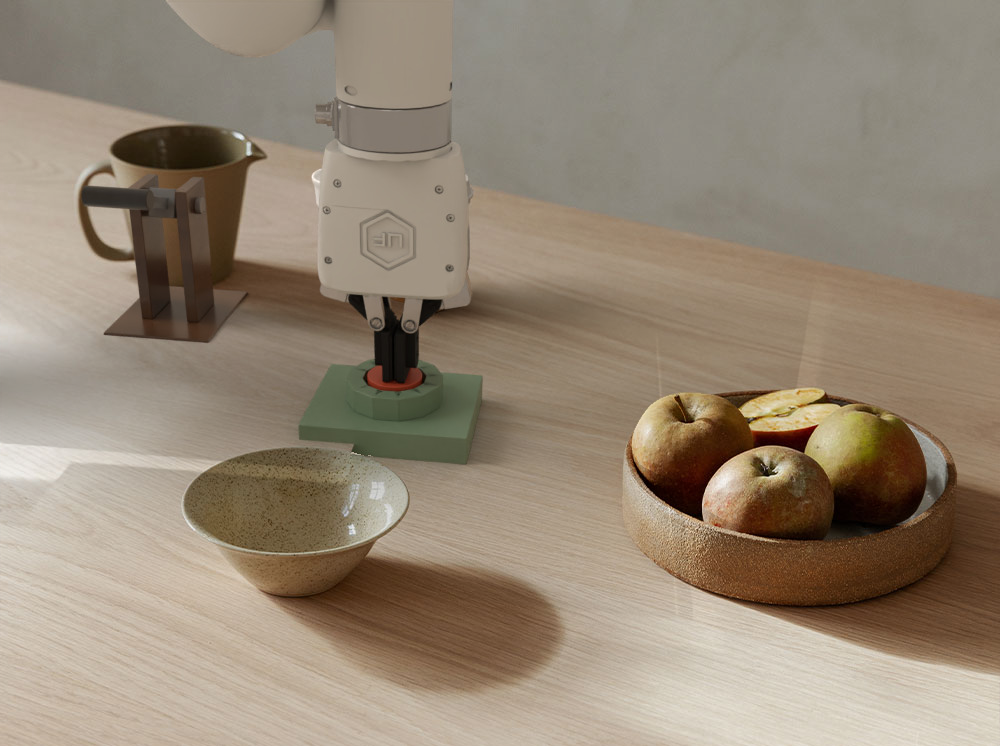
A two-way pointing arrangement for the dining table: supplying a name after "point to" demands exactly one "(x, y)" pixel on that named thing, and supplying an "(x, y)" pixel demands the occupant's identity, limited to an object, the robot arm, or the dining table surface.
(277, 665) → the dining table surface
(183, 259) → the bracket
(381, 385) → the button
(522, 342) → the dining table surface
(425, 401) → the button box
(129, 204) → the lever
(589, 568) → the dining table surface
